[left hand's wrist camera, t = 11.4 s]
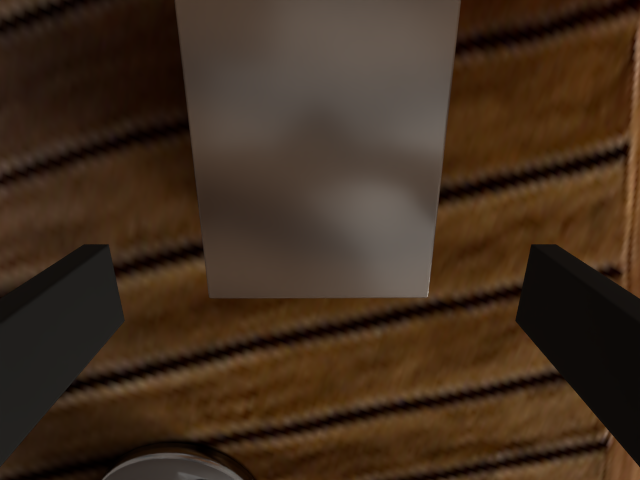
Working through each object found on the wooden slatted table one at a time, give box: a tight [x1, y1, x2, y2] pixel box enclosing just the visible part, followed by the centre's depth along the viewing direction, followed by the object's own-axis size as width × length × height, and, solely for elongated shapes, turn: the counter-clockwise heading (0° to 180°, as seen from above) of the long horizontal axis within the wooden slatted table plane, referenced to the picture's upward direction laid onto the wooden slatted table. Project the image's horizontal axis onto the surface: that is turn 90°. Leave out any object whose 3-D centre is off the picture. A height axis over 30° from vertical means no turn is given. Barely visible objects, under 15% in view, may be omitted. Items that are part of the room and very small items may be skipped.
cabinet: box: [174, 0, 461, 298], centre depth 19 cm, size 18×10×10 cm, turn 0°
